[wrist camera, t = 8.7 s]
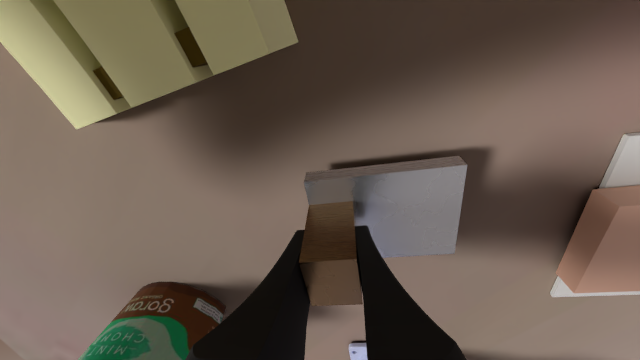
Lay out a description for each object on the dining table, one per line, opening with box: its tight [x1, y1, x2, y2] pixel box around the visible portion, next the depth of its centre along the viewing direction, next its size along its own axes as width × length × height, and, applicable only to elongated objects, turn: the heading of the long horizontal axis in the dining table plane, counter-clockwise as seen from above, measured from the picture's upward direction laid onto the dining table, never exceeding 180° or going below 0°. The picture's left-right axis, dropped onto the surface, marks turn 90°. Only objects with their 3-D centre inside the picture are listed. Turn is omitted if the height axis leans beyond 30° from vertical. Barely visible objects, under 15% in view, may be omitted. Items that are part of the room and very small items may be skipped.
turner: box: [299, 156, 467, 306], centre depth 13 cm, size 8×6×5 cm
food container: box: [78, 282, 226, 360], centre depth 19 cm, size 12×6×10 cm, turn 112°
